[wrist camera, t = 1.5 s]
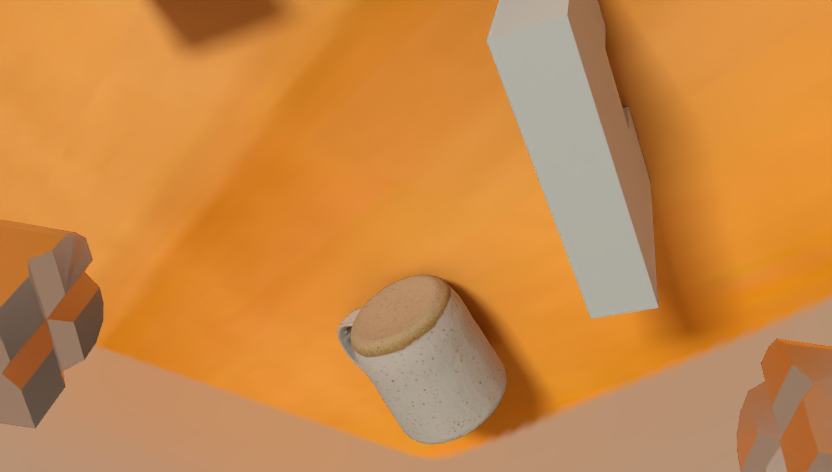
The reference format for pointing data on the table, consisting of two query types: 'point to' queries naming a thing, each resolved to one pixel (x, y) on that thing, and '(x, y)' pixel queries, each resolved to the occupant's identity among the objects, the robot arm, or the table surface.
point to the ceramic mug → (426, 358)
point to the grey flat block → (580, 146)
